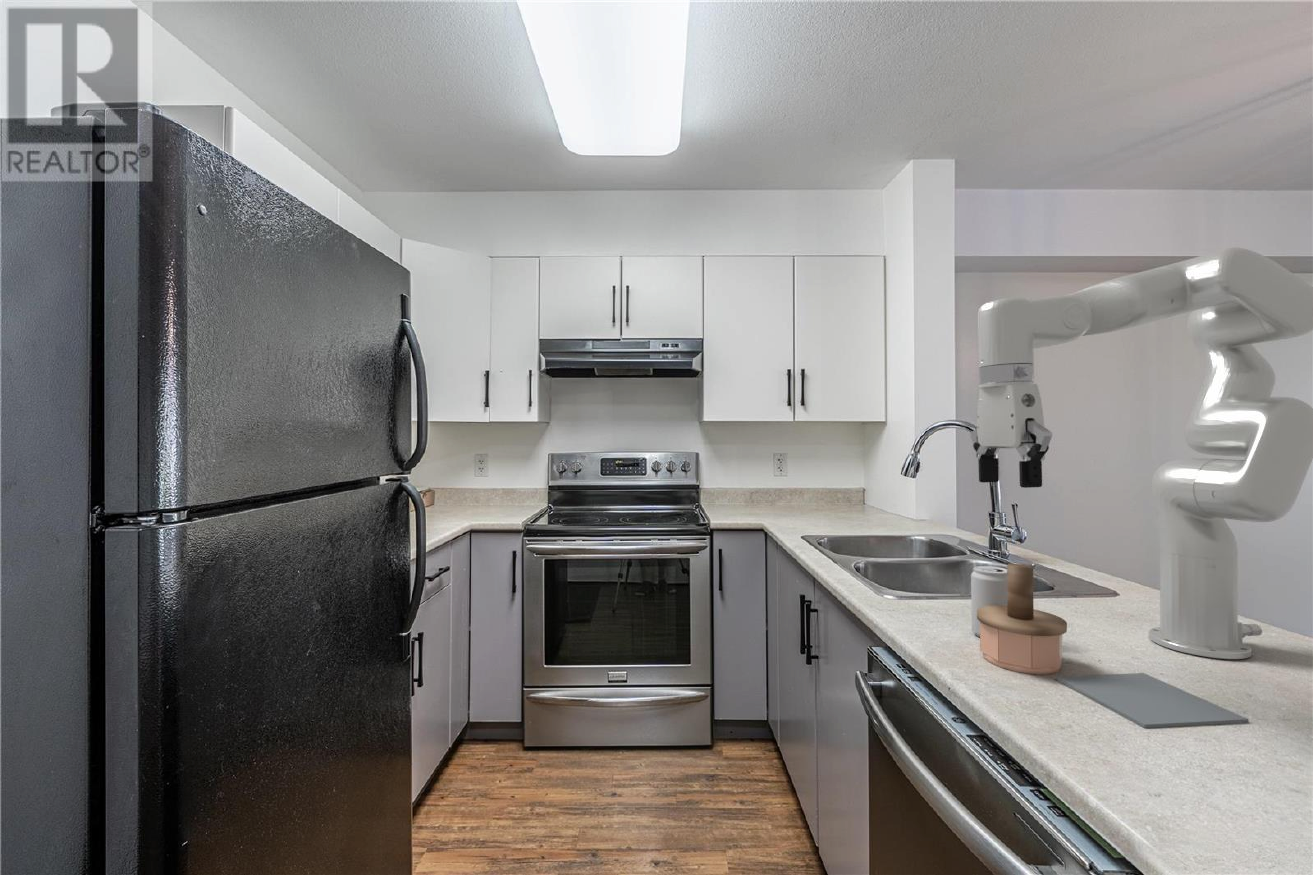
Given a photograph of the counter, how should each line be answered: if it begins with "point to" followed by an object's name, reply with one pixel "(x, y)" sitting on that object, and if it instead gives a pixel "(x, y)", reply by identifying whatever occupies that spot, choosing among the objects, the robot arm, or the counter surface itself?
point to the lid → (1021, 608)
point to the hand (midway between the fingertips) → (1008, 484)
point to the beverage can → (987, 590)
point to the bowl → (1021, 651)
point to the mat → (1149, 700)
